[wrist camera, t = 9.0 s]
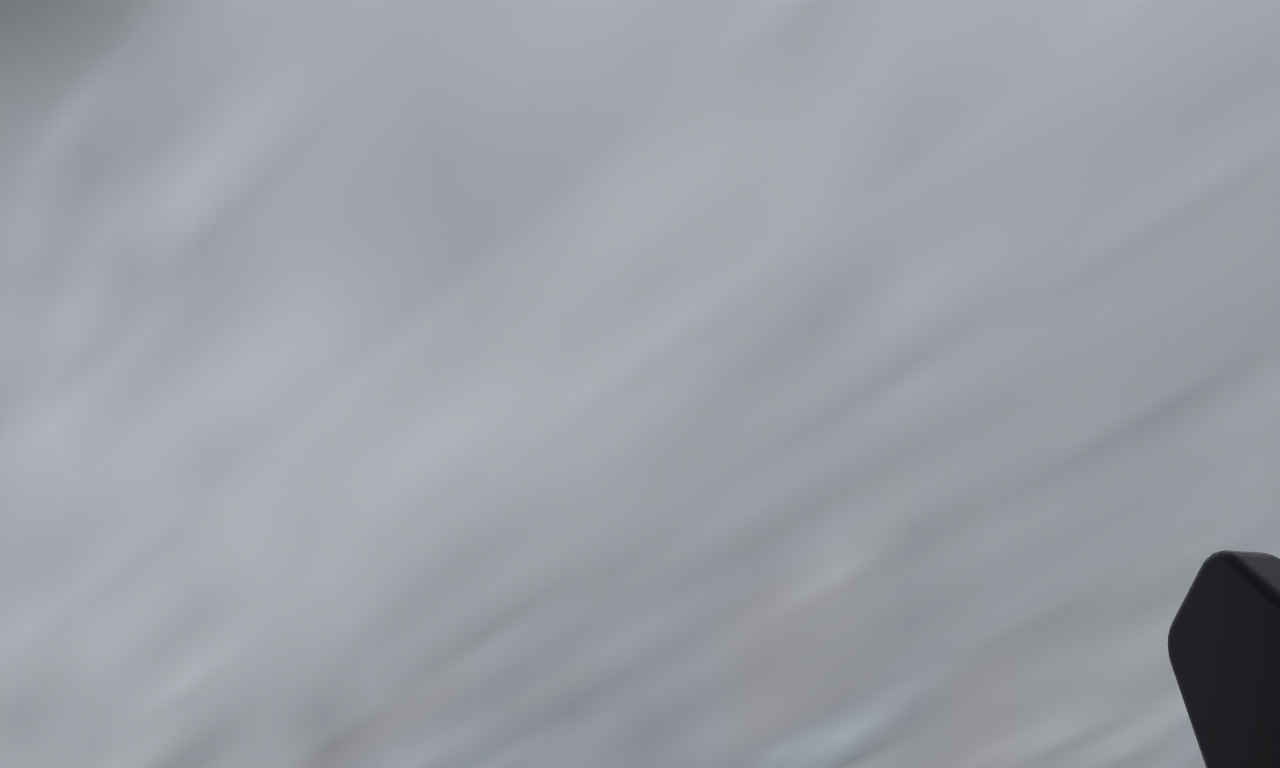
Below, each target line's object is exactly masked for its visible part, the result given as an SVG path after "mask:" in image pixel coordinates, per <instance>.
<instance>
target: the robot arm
mask: <svg viewBox="0 0 1280 768" xmlns="http://www.w3.org/2000/svg"><path fill="white" fill-rule="evenodd" d="M1168 651H1169V658H1170V662H1171V665H1172V668H1173V671H1174V674H1175V677H1176V679H1177V682H1178V685H1179V688H1180V691H1181V694H1182V697H1183V700H1184V703H1185V706H1186V709H1187V712H1188V715H1189V718H1190V721H1191V724H1192V727H1193V730H1194V733H1195V736H1196V738H1197V741H1198V744H1199V747H1200V750H1201V753H1202V756H1203V759H1204V762H1205V765H1206V768H1280V559H1279V558H1277V557H1275V556H1273V555H1270V554H1266V553H1259V552H1242V551H1226V550H1225V551H1220V552H1216V553H1214V554H1212V555H1211V556H1210V557H1209V558H1207V559H1206V560H1205V562H1204V563H1203V565H1202V566H1201V568H1200V570H1199V572H1198V574H1197V576H1196V578H1195V580H1194V582H1193V584H1192V585H1191V587H1190V589H1189V591H1188V593H1187V595H1186V597H1185V599H1184V601H1183V603H1182V605H1181V607H1180V609H1179V611H1178V612H1177V614H1176V616H1175V618H1174V620H1173V622H1172V625H1171V627H1170V631H1169V635H1168Z"/></svg>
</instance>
